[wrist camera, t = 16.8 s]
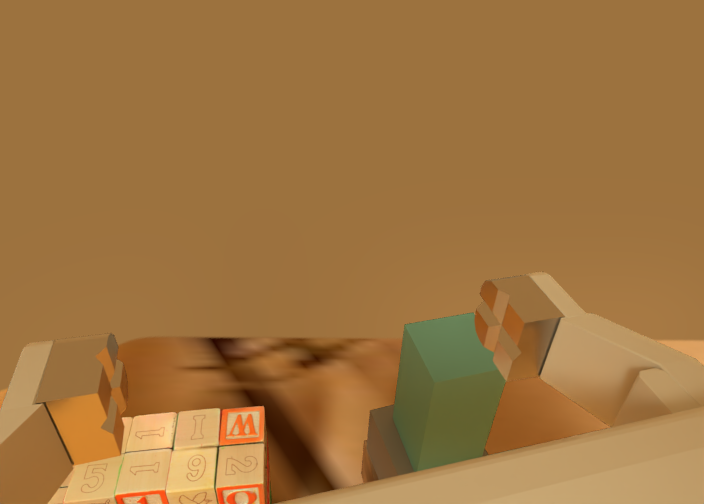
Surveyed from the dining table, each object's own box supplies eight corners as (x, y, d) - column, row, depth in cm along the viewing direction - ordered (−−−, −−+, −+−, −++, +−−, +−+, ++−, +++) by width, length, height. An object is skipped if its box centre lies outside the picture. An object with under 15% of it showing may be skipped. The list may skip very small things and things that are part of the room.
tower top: (481, 502, 40) (494, 464, 37) (398, 529, 38) (405, 491, 35) (441, 428, 45) (449, 390, 42) (366, 448, 43) (370, 410, 40)
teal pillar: (480, 460, 37) (510, 366, 31) (416, 476, 36) (434, 382, 30) (451, 404, 41) (473, 312, 35) (392, 418, 40) (404, 324, 34)
